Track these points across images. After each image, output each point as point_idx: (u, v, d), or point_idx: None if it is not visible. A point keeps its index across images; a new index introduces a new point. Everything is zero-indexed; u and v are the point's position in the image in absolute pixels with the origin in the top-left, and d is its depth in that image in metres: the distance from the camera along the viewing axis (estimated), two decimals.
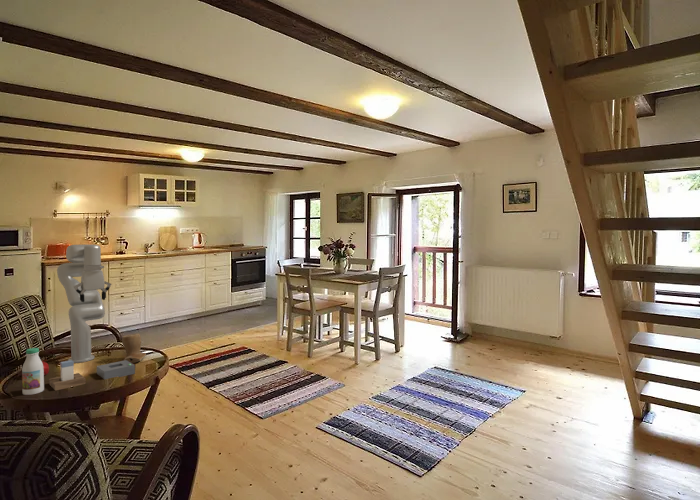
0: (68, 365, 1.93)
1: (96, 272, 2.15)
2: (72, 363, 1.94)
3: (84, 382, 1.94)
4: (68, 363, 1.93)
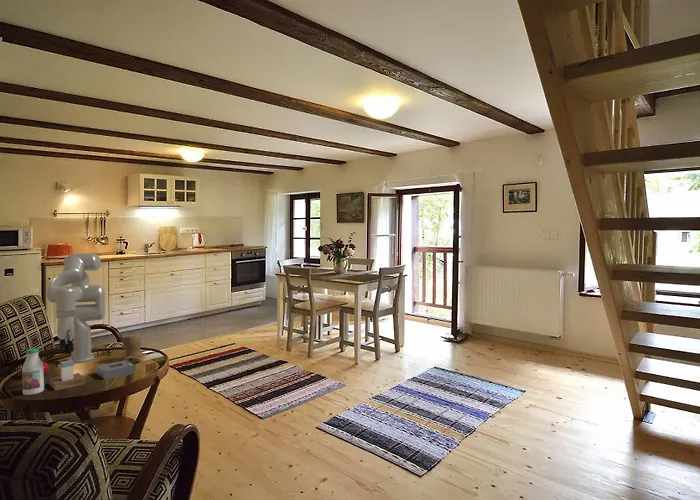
0: (68, 365, 1.93)
1: None
2: (72, 363, 1.94)
3: (84, 382, 1.94)
4: (68, 363, 1.93)
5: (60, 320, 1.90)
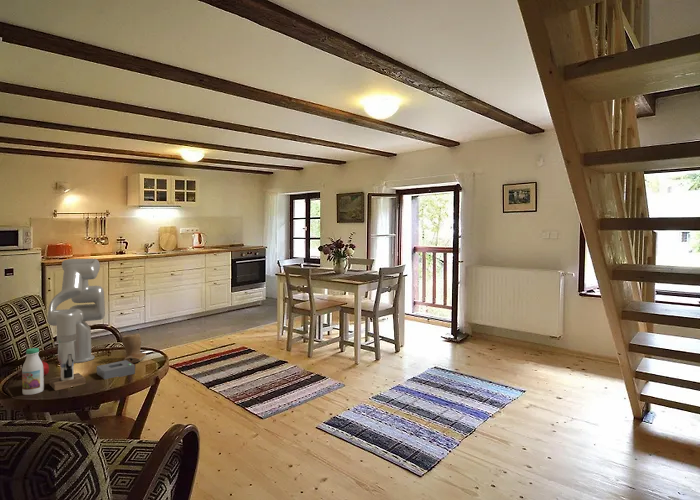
0: None
1: None
2: (72, 363, 1.94)
3: (84, 382, 1.94)
4: None
5: (61, 344, 1.90)
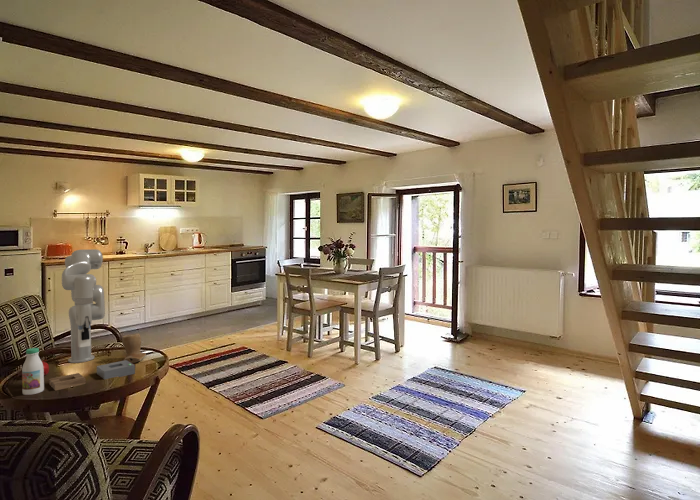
0: None
1: None
2: (89, 326, 1.99)
3: (84, 382, 1.94)
4: None
5: (78, 307, 1.95)
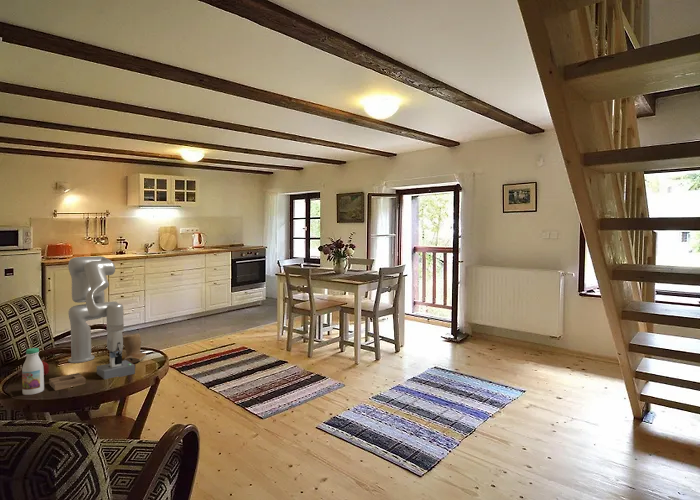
0: None
1: None
2: None
3: (84, 382, 1.94)
4: None
5: (111, 333, 2.06)
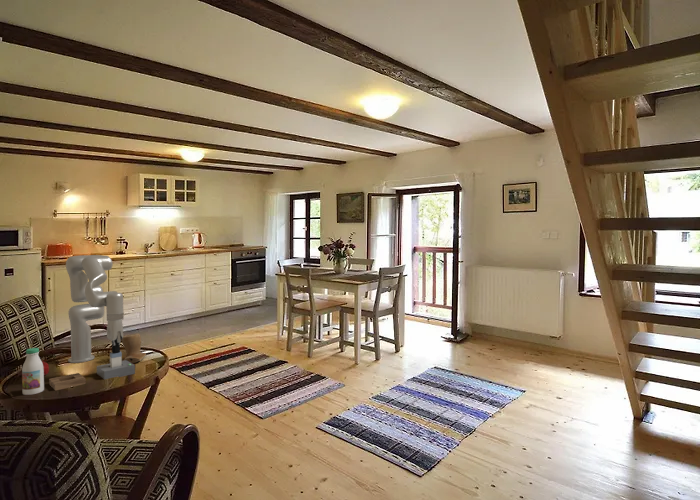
0: (117, 356, 2.08)
1: None
2: (120, 354, 2.09)
3: (84, 382, 1.94)
4: (117, 354, 2.08)
5: (111, 322, 2.05)
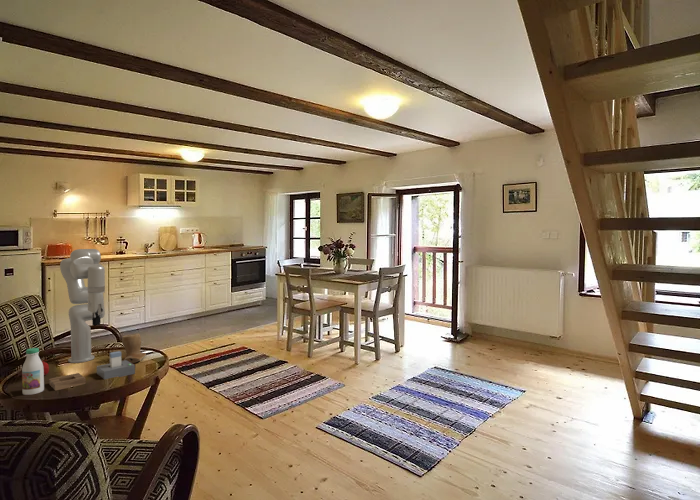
0: (117, 356, 2.09)
1: None
2: (120, 354, 2.10)
3: (84, 382, 1.94)
4: (116, 354, 2.08)
5: (92, 295, 2.07)
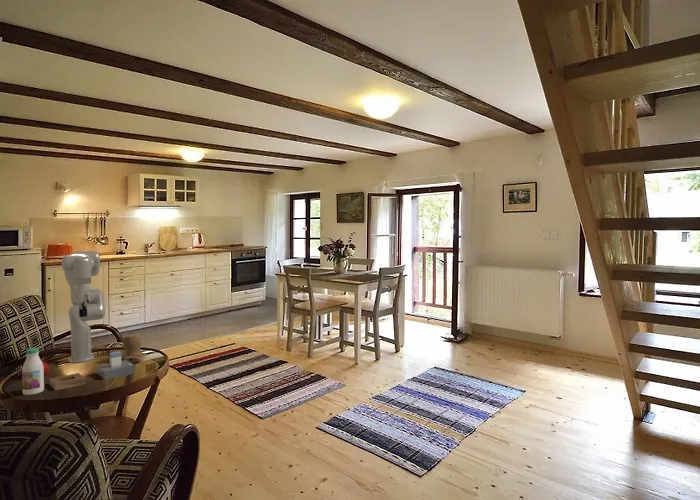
0: (117, 356, 2.09)
1: None
2: (120, 354, 2.10)
3: (84, 382, 1.94)
4: (116, 354, 2.08)
5: (78, 286, 2.08)
